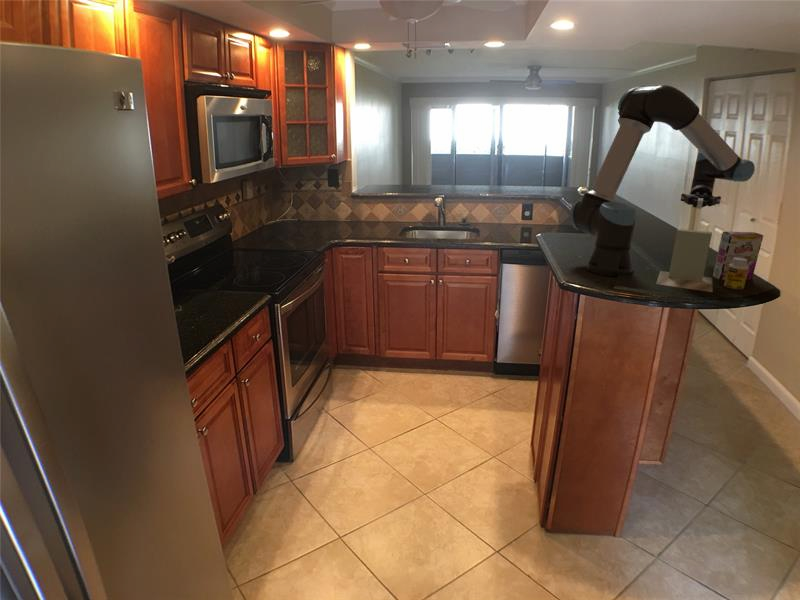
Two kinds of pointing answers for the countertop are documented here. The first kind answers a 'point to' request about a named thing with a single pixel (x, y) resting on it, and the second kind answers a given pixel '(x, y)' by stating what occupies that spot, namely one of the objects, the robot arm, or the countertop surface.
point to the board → (685, 282)
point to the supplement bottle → (736, 274)
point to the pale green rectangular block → (690, 255)
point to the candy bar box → (737, 251)
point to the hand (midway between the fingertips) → (699, 204)
